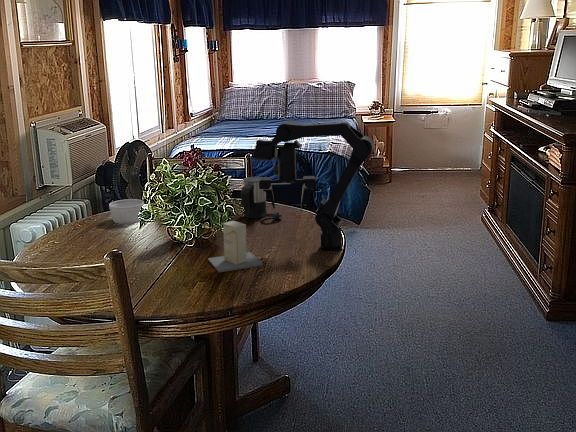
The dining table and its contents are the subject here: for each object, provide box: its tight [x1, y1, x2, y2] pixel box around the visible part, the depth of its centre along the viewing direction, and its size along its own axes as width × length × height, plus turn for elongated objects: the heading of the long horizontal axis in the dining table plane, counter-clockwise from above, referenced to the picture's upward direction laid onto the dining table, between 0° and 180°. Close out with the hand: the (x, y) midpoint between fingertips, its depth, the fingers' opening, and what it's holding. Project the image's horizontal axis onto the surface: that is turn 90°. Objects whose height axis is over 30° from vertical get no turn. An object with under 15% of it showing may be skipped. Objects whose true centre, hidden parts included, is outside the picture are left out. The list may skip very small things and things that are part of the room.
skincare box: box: [222, 220, 247, 265], centre depth 193 cm, size 6×4×12 cm
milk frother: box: [240, 176, 283, 220], centre depth 241 cm, size 14×16×15 cm
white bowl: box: [108, 198, 145, 225], centre depth 242 cm, size 13×13×7 cm
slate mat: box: [207, 251, 264, 273], centre depth 194 cm, size 14×12×1 cm
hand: (287, 207), depth 207 cm, fingers open, 9 cm apart
